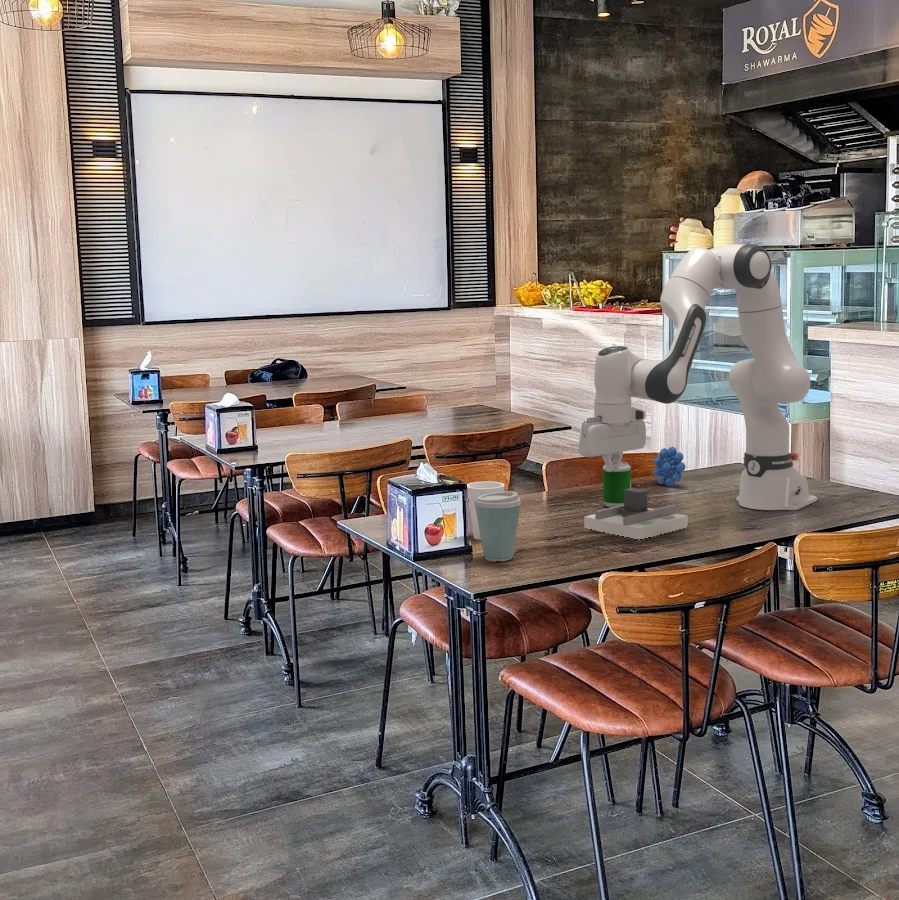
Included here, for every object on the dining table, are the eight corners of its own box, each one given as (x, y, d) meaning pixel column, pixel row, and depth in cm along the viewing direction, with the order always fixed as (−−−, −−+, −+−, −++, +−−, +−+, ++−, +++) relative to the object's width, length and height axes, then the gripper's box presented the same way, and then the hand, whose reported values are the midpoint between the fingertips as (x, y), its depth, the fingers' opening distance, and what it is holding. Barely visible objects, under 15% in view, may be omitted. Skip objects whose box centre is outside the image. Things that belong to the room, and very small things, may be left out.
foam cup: (467, 532, 277) (466, 481, 275) (504, 532, 277) (503, 480, 275) (467, 542, 268) (465, 489, 266) (505, 541, 268) (504, 488, 265)
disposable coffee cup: (476, 565, 247) (474, 499, 245) (474, 552, 258) (473, 489, 255) (523, 563, 247) (522, 498, 245) (520, 551, 258) (519, 488, 255)
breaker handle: (631, 510, 280) (631, 486, 279) (653, 515, 275) (653, 490, 274) (618, 514, 277) (618, 489, 276) (639, 518, 272) (639, 493, 271)
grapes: (694, 487, 323) (694, 446, 321) (679, 490, 319) (679, 449, 317) (663, 481, 333) (664, 442, 331) (648, 485, 328) (648, 445, 326)
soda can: (630, 509, 297) (630, 465, 295) (602, 509, 299) (601, 465, 297) (631, 503, 304) (631, 460, 302) (604, 503, 306) (603, 460, 304)
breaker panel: (632, 516, 289) (632, 497, 288) (687, 527, 275) (687, 507, 275) (584, 528, 278) (584, 508, 277) (639, 540, 264) (639, 520, 263)
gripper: (592, 419, 258) (592, 478, 260) (650, 411, 271) (649, 467, 273) (572, 417, 263) (572, 474, 265) (631, 409, 276) (630, 464, 278)
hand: (612, 470), depth 269 cm, fingers closed
